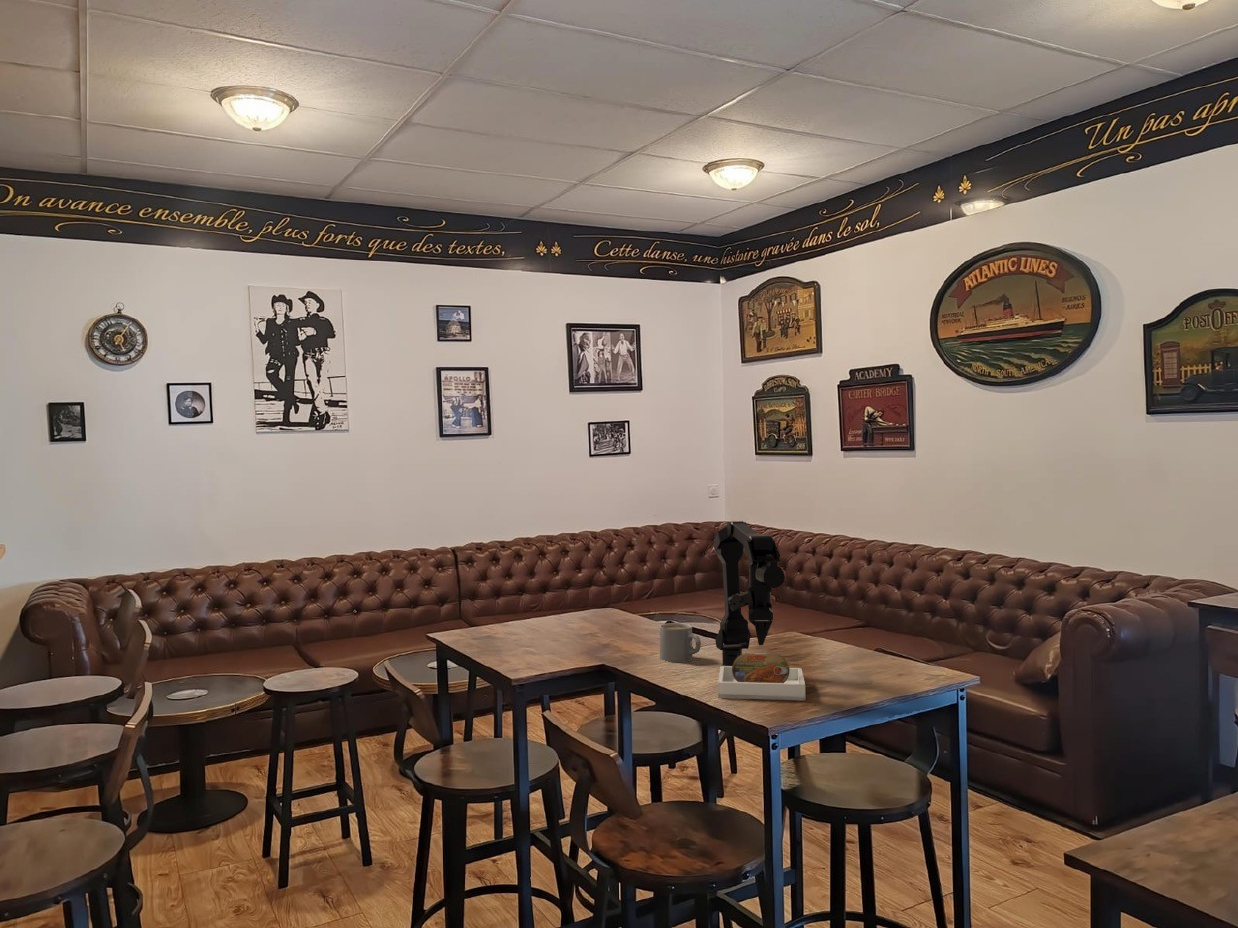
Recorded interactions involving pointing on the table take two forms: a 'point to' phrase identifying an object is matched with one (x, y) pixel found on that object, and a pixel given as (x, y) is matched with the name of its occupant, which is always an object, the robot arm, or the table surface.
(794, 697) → the tray
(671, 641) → the coffee mug
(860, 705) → the table surface
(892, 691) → the table surface
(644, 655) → the table surface
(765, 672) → the tin
